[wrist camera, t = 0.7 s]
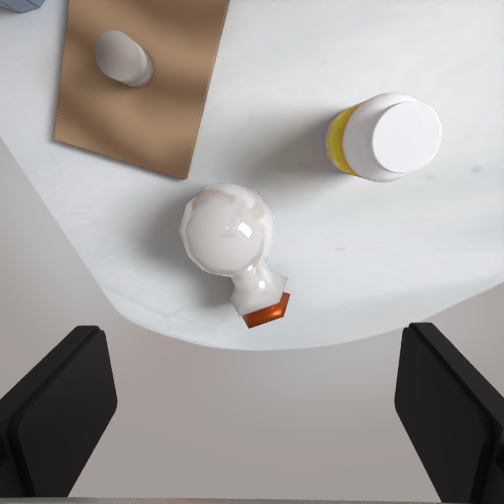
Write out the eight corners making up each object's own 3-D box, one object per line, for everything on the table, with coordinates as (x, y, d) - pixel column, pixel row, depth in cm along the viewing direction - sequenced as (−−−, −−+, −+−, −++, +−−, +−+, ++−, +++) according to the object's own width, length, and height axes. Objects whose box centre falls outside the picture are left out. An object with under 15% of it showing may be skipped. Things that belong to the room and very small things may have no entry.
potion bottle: (223, 168, 37) (272, 276, 43) (147, 209, 33) (212, 323, 39) (273, 159, 30) (324, 292, 35) (182, 211, 26) (256, 352, 31)
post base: (84, -62, 30) (44, -107, 25) (232, -10, 31) (225, -43, 25) (60, 139, 36) (23, 138, 30) (187, 178, 36) (173, 184, 31)
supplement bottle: (329, 180, 36) (363, 198, 24) (317, 116, 34) (347, 100, 22) (392, 164, 35) (461, 174, 23) (383, 98, 33) (453, 70, 21)
